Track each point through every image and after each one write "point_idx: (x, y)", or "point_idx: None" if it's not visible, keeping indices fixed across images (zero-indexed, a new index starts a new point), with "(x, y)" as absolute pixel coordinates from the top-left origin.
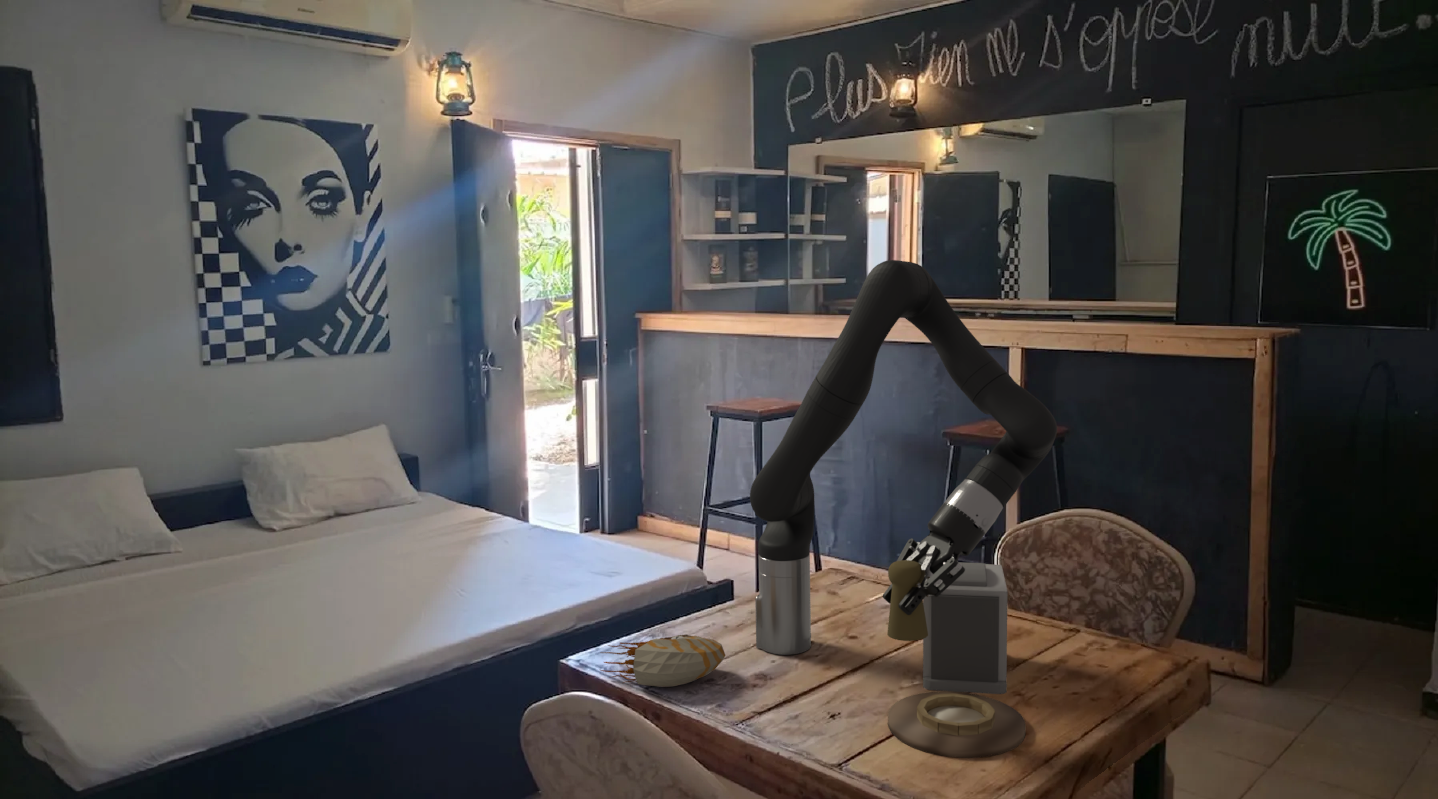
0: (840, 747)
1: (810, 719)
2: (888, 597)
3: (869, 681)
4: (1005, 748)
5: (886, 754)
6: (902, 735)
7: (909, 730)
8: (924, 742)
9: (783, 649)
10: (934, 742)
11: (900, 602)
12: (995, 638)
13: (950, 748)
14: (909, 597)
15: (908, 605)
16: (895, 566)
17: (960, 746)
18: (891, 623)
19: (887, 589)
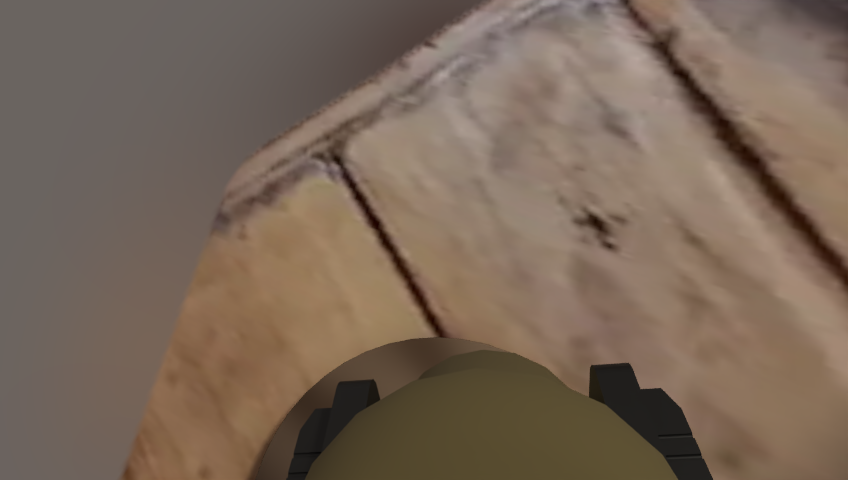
0: (414, 186)
1: (588, 160)
2: (597, 398)
3: (834, 423)
4: None
5: (347, 279)
6: (390, 344)
7: (404, 372)
8: (328, 379)
9: None
10: (321, 406)
11: (364, 396)
12: None
13: (278, 431)
14: None
15: (304, 431)
16: (426, 442)
17: (279, 463)
18: (470, 360)
19: (640, 408)
